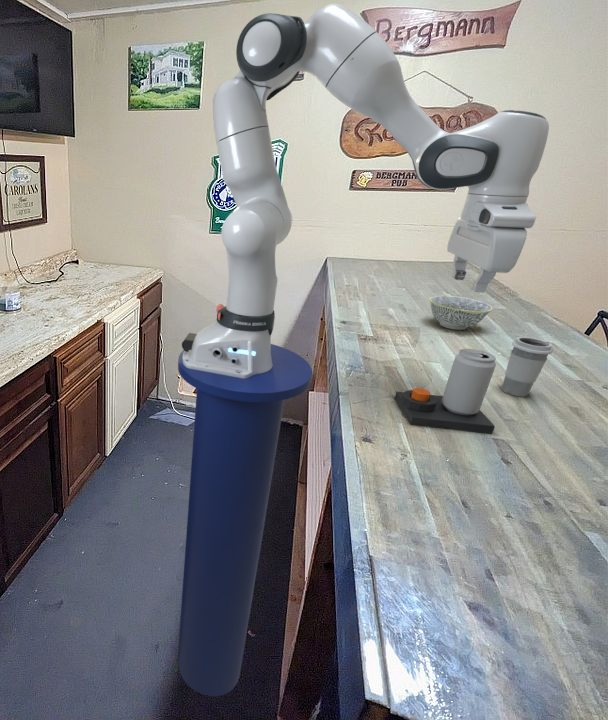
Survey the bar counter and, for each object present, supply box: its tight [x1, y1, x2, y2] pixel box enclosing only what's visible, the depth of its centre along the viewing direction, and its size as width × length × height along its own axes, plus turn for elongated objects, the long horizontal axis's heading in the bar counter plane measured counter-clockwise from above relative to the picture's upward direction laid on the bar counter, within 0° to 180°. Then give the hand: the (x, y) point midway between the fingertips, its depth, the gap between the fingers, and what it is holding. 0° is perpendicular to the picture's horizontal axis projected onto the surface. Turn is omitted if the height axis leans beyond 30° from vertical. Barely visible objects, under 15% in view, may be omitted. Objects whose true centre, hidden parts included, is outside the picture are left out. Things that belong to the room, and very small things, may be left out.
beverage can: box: [441, 348, 497, 415], centre depth 89 cm, size 6×6×12 cm
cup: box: [501, 336, 554, 397], centre depth 99 cm, size 7×7×12 cm
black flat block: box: [394, 389, 496, 434], centre depth 92 cm, size 14×11×4 cm
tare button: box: [411, 387, 431, 402], centre depth 92 cm, size 3×3×2 cm
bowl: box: [428, 295, 493, 331], centre depth 139 cm, size 16×16×8 cm
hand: (467, 285), depth 89 cm, fingers open, 8 cm apart
